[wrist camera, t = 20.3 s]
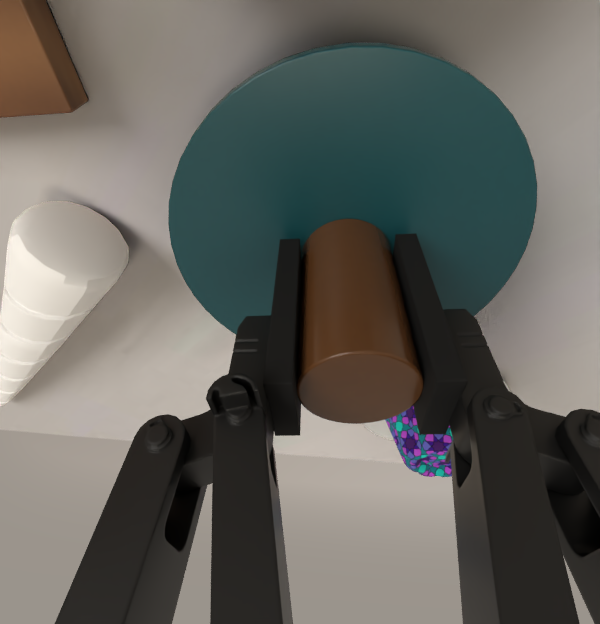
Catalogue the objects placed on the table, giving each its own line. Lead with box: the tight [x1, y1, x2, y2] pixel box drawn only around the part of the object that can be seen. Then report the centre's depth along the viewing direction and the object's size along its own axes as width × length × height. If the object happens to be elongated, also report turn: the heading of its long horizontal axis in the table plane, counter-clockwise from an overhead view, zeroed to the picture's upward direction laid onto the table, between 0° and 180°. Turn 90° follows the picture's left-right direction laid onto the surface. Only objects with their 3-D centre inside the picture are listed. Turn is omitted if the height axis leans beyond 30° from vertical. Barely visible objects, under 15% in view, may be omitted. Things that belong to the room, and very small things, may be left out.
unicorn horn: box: [0, 201, 129, 406], centre depth 23 cm, size 5×24×5 cm, turn 137°
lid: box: [169, 43, 537, 424], centre depth 13 cm, size 14×14×7 cm
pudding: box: [362, 381, 510, 477], centre depth 29 cm, size 12×12×5 cm
